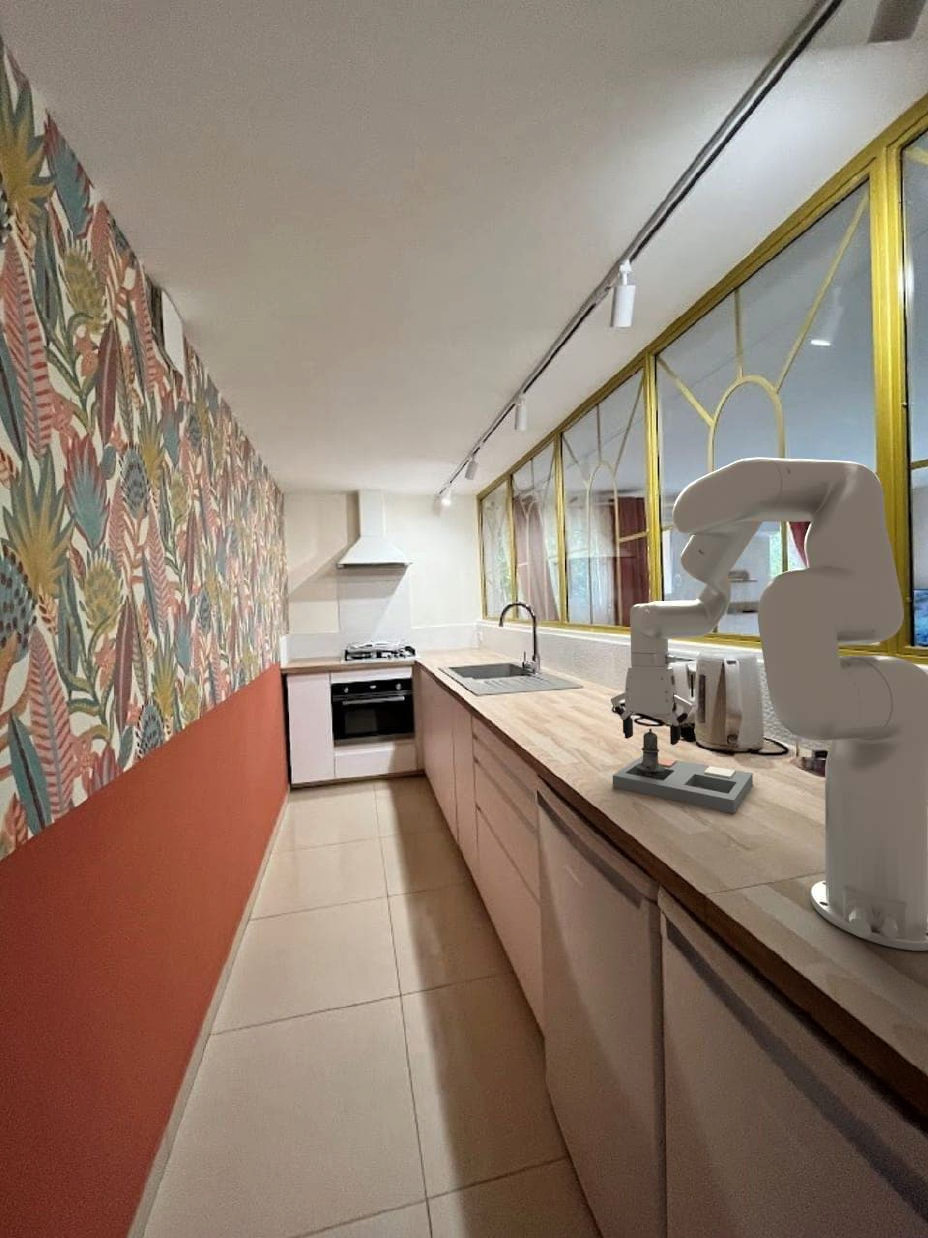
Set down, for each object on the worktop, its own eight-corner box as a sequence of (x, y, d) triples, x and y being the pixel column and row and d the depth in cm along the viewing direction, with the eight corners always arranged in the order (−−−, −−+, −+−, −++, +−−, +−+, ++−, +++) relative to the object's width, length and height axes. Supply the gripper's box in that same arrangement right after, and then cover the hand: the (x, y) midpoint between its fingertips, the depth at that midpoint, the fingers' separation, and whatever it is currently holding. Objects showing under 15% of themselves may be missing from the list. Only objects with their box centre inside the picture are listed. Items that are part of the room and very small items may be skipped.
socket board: (734, 813, 90) (733, 798, 90) (612, 786, 105) (612, 773, 105) (752, 784, 105) (752, 771, 105) (644, 764, 119) (643, 752, 119)
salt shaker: (667, 789, 103) (667, 731, 103) (638, 787, 104) (638, 730, 104) (662, 779, 109) (662, 725, 109) (634, 778, 110) (634, 724, 110)
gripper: (697, 661, 104) (698, 742, 103) (617, 658, 115) (618, 732, 114) (687, 663, 98) (688, 750, 98) (603, 660, 109) (605, 738, 109)
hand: (651, 740), depth 106 cm, fingers open, 9 cm apart
